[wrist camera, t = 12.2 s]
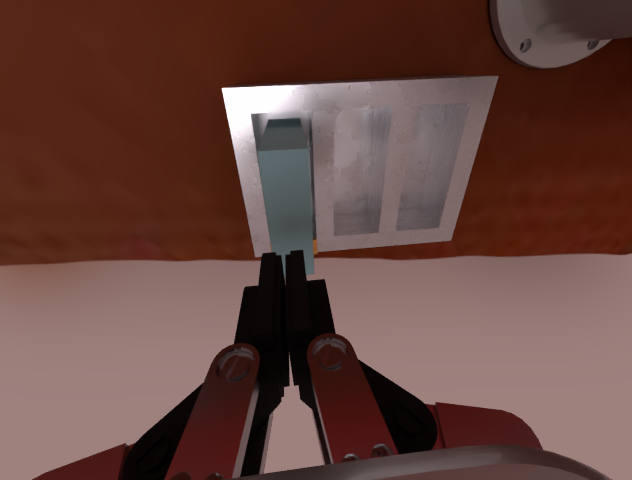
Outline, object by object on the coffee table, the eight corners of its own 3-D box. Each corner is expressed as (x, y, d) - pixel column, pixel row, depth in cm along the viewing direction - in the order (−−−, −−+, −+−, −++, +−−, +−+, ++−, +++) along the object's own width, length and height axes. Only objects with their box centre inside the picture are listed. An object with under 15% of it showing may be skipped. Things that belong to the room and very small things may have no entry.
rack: (457, 74, 22) (501, 75, 17) (426, 217, 29) (452, 244, 24) (234, 84, 21) (220, 88, 16) (260, 230, 28) (255, 260, 23)
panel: (299, 117, 21) (308, 148, 13) (304, 207, 26) (314, 274, 17) (268, 119, 21) (257, 151, 13) (279, 209, 26) (275, 277, 17)
